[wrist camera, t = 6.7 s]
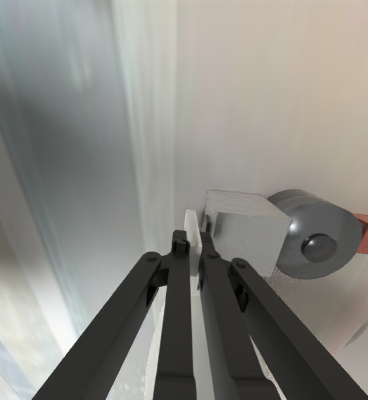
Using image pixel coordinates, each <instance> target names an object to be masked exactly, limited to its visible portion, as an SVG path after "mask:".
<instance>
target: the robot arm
mask: <svg viewBox="0 0 368 400" xmlns="http://www.w3.org/2000/svg"><path fill="white" fill-rule="evenodd" d="M197 275H199V280H198V286H197V290H199V291H200V298H201V305H202V312H203V319H204V326H205V333H206V340H207V347H208V355H209V362H210V369H211V376H212V383H213V390H214V397H215V400H281V398H280V395H279V393H278V391H277V389H276V387H275V385H274V384H273V382H272V381H271V380H269V379H267V378H266V377H265V375H264V373H263V371H262V368H261V366H260V363H259V360H258V357H257V355H256V352H255V349H254V346H253V344H252V341H251V338H252V340H253V342H254V344H255V345H256V347H257V349H258V351H259V352H260V354H261V356H262V357H263V359H264V361H265V363H266V364H267V366H268V368H269V370H270V371H271V373H272V375H273V376H274V378H275V380H276V382H277V383H278V385H279V387H280V389H281V390H282V392H283V394H284V395H285V397H286V399H287V400H368V396H367V394H366V393H365V392H364V391H363V390H362V389H361V388H360V387H359V385H357V383H356V382H355V381H354V380H353V379H352V378H351V377H350V375H349V374H348V373H347V372H346V371H345V370H344V369H343V368H342V366H341V365H340V364H339V363H338V362H337V361H336V360H335V359H334V358H333V356H332V355H331V354H330V353H329V352H328V351H327V350H326V349H325V347H324V346H323V345H322V344H321V343H320V342H319V341H318V340H317V339H316V337H315V336H314V335H313V334H312V333H311V332H310V331H309V330H308V328H307V327H306V326H305V325H304V324H303V323H302V322H301V321H300V319H299V318H298V317H297V316H296V315H295V314H294V313H293V312H292V311H291V309H290V308H289V307H288V306H287V305H286V304H285V303H284V302H283V300H282V299H281V298H280V297H279V296H278V295H277V294H276V293H275V292H274V290H273V289H272V288H271V287H270V286H269V285H268V284H267V283H266V281H265V280H264V279H263V278H262V277H261V276H260V275H259V274H258V273H257V271H256V270H255V269H254V268H253V267H252V266H251V265H250V264H249V263H248V262H247V261H246V260H244V259H242V258H233V259H232V260H231V262H230V261H227V260H224V259H222V258H221V256H220V254H219V253H218V252H216V251H215V247H214V244H213V241H212V238H211V235H210V234H209V233H208V232H199V228H198V222H197V217H196V212H195V210H192V209H186V216H185V224H184V231H181V230H175V231H174V232H173V239H172V250H171V252H170V253H169V254H167V255H164V256H161V255H160V254H159V253H157V252H147V253H145V254H144V255H143V256H142V257H141V258H140V260H139V261H138V262H137V263H136V265H135V266H134V267H133V269H132V270H131V271H130V272H129V274H128V275H127V276H126V278H125V279H124V280H123V282H122V283H121V284H120V285H119V287H118V288H117V289H116V291H115V292H114V293H113V295H112V296H111V297H110V298H109V300H108V301H107V302H106V304H105V305H104V306H103V308H102V309H101V310H100V311H99V313H98V314H97V315H96V317H95V318H94V319H93V321H92V322H91V323H90V324H89V326H88V327H87V328H86V330H85V331H84V332H83V333H82V335H81V336H80V337H79V339H78V340H77V341H76V343H75V344H74V345H73V346H72V348H71V349H70V350H69V352H68V353H67V354H66V356H65V357H64V358H63V359H62V361H61V362H60V363H59V365H58V366H57V367H56V369H55V370H54V371H53V372H52V374H51V375H50V376H49V378H48V379H47V380H46V381H45V383H44V384H43V385H42V387H41V388H40V389H39V391H38V392H37V393H36V394H35V396H34V397H33V398H32V400H106V398H107V396H108V393H109V391H110V389H111V387H112V385H113V383H114V381H115V379H116V377H117V375H118V373H119V371H120V369H121V366H122V364H123V362H124V360H125V358H126V356H127V354H128V352H129V350H130V348H131V346H132V344H133V342H134V339H135V337H136V335H137V333H138V331H139V329H140V327H141V325H142V323H143V321H144V319H145V317H146V315H147V313H148V310H149V308H150V306H151V304H152V302H153V300H154V298H155V296H156V294H157V292H158V290H159V287H161V286H166V285H167V291H166V299H165V307H164V316H163V324H162V332H161V340H160V348H159V356H158V364H157V372H156V377H155V385H154V392H153V400H197V391H196V380H195V377H194V373H193V346H192V316H191V287H190V276H192V277H197ZM250 337H251V338H250Z"/></svg>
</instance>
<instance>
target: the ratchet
mask: <svg viewBox="0 0 368 400" xmlns="http://www.w3.org/2000/svg"><path fill="white" fill-rule="evenodd" d="M267 200H268V201H269V202H270V203H272V204H273V205H274V206H276V207H277V208H278V209H280V210H281V211H282V212H283V213H285V214H286V215H287V216H289V217H290V218H291V219H292V220H291V223H290V226H289V229H288V232H287V234H286V237H285V240H284V243H283V245H282V248H281V251H280V254H279V256H278V259H277V262H276V266H277V268H278V269H279V270H280V271H281V272H283V273H284V274H286V275H287V276H290V277H292V278H296V279H316V278H320V277H324V276H327V275H329V274H331V273H333V272H335V271H337V270H339V269H340V268H342V267H343V266H344V265H345V264H347V263H348V262H349V261H350V260H351V259H352V257H353V256H354V255H355V253H362V254H368V215H361V214H352V213H350V212H349V211H347V210H345V209H343V208H340V207H338V206H336V205H334V204H332V203H329V202H327V201H325V200H323V199H321V198H318V197H316V196H314V195H312V194H310V193H307V192H305V191H302V190H285V191H282V192H278V193H276V194H274V195H272V196H271V197H269V198H268V199H267Z"/></svg>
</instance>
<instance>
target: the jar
mask: <svg viewBox="0 0 368 400" xmlns="http://www.w3.org/2000/svg"><path fill="white" fill-rule="evenodd" d="M198 280H199V275H197V277H192V276H190V287H191V316H192V346H193V373H194V377H195V380H196V391H197V400H215V397H214V390H213V383H212V376H211V369H210V362H209V355H208V347H207V340H206V333H205V326H204V319H203V312H202V305H201V298H200V291H199V290H197V286H198ZM164 307H165V302H164V304H163V307H162V310H161V313H160V316H159V321H158V324H157V327H156V330H155V333H154V336H153V339H152V343H151V347H150V352H149V357H148V363H147V370H146V378H145V389H144V400H153V392H154V385H155V377H156V372H157V364H158V356H159V348H160V340H161V332H162V324H163V316H164ZM250 338H251V337H250ZM251 341H252V344H253V346H254V349H255V352H256V355H257V357H258V360H259V363H260V366H261V368H262V371H263V373H264V375H265V377H266V378H267V379H269V376H268V373H267V369H266V366H265V363H264V359H263V357H262V356H261V354H260V352H259V351H258V349H257V347H256V345H255V344H254V342H253V340H252V338H251Z"/></svg>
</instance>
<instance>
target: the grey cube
mask: <svg viewBox="0 0 368 400" xmlns="http://www.w3.org/2000/svg"><path fill="white" fill-rule="evenodd" d="M291 220H292V219H291V218H290V217H289V216H287V215H286V214H285V213H283V212H282V211H281V210H280V209H278V208H277V207H276V206H274V205H273V204H272V203H270V202H269V201H268V200H267V199H265V198H264V197H263V196H261V195H255V194H245V193H235V192H225V191H215V190H208V194H207V201H206V207H205V213H204V220H203V226H202V232H208V233H209V234H210V235H211V238H212V241H213V244H214V247H215V251H216V252H218V253H219V254H220V256H221V258H222V259H224V260H227V261H230V262H231V260H232V259H233V258H242V259H244V260H246V261H247V262H248V263H249V264H250V265H251V266H252V267H253V268H254V269H255V270H256V271H257V273H258V274H259V275H260V276H264V277H271V276H272V273H273V270H274V268H275V265H276V262H277V259H278V256H279V254H280V251H281V248H282V245H283V243H284V240H285V237H286V234H287V232H288V229H289V226H290V223H291Z"/></svg>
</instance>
